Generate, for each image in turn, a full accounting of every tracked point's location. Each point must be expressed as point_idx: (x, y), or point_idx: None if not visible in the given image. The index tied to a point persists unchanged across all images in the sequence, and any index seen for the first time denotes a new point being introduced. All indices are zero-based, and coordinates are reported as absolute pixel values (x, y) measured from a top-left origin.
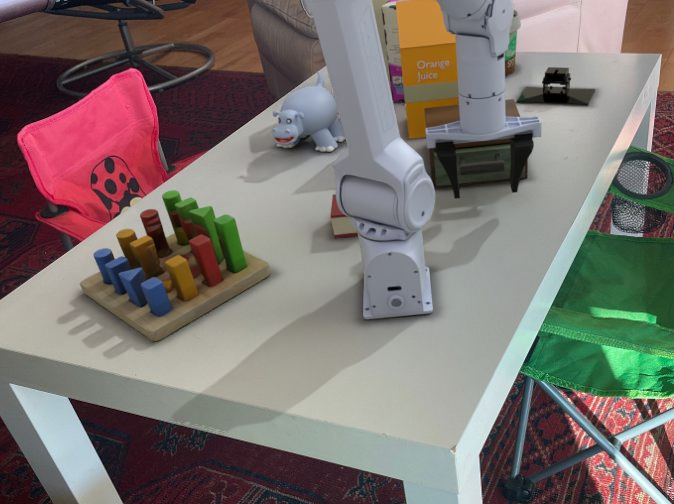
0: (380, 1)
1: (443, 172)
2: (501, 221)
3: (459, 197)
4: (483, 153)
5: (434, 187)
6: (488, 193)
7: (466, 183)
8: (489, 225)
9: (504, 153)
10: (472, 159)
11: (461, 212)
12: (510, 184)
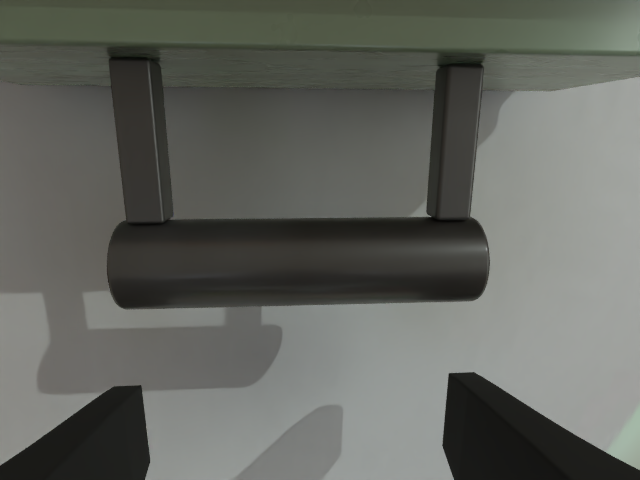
0: None
1: (16, 72)
2: (352, 430)
3: (147, 464)
4: (343, 56)
5: None
6: (330, 171)
7: None
8: (300, 451)
9: (530, 64)
10: (236, 63)
11: (185, 334)
12: (453, 391)
